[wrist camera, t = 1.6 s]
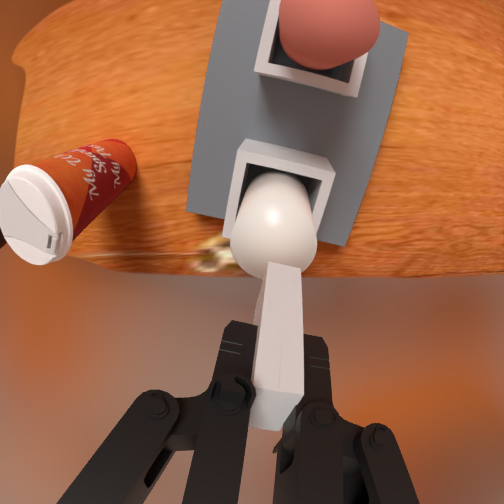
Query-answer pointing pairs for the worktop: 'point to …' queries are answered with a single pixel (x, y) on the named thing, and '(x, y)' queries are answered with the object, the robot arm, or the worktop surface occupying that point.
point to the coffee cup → (61, 198)
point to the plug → (274, 224)
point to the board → (289, 119)
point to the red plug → (327, 31)
